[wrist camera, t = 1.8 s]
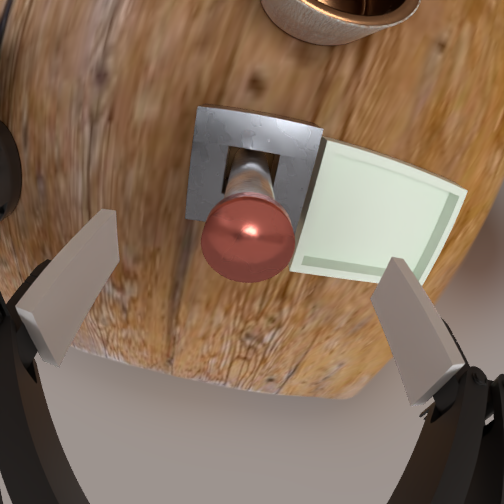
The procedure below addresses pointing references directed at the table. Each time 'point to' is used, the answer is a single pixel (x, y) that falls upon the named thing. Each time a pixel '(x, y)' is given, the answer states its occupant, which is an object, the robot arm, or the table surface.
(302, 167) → the block
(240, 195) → the red capped tube
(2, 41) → the table surface
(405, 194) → the tray
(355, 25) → the planter
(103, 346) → the table surface
